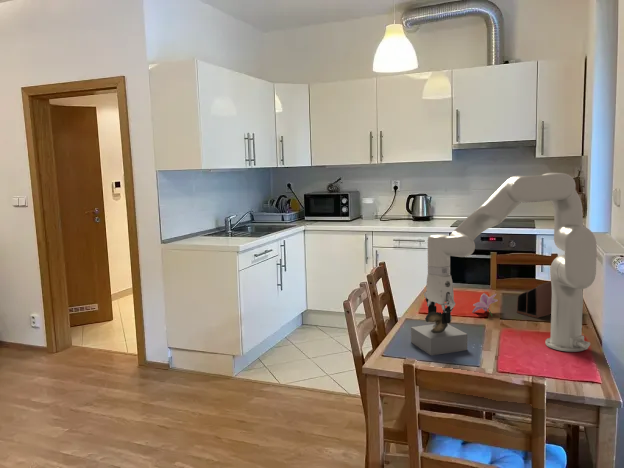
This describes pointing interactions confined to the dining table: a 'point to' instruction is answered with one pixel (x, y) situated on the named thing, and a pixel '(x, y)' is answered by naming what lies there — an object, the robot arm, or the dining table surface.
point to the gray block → (438, 339)
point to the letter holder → (536, 301)
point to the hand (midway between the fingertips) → (439, 320)
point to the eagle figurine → (436, 322)
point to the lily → (484, 302)
